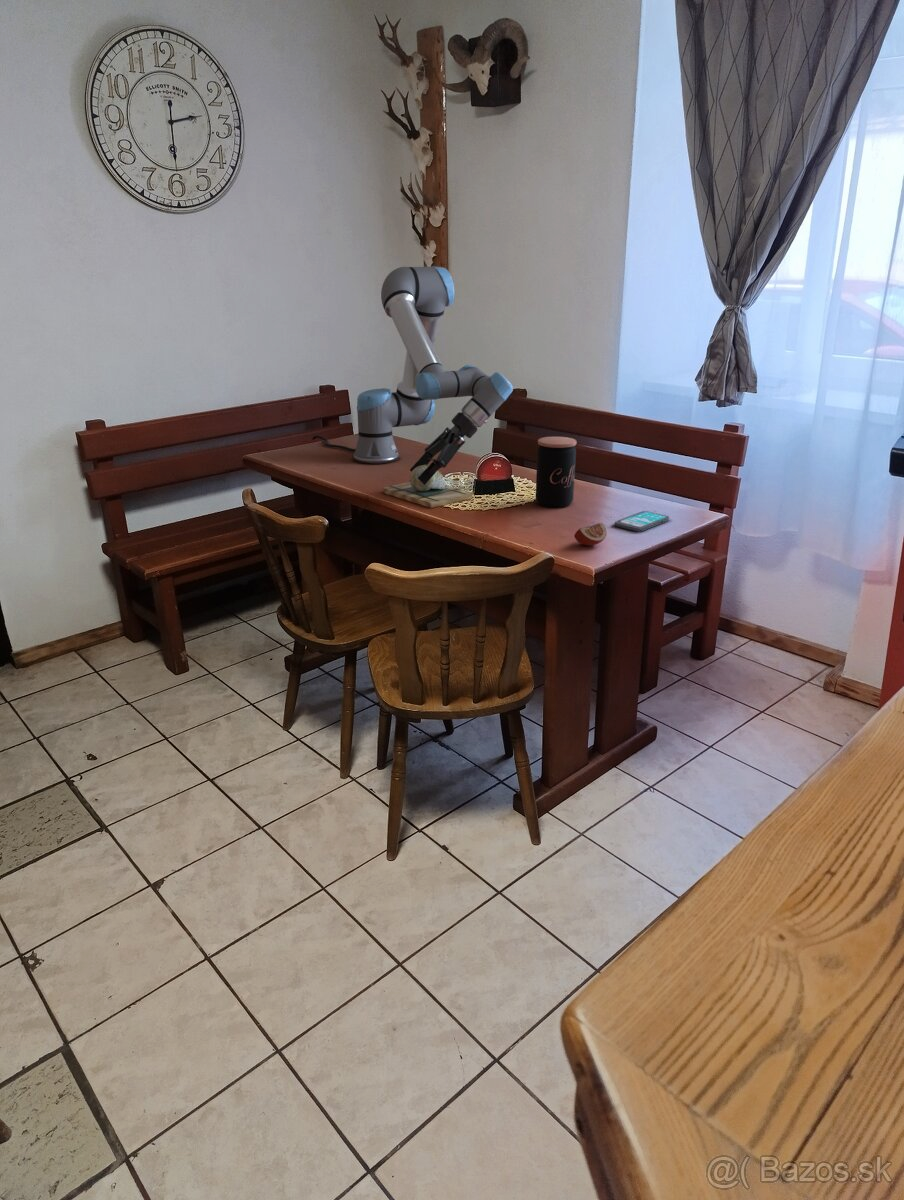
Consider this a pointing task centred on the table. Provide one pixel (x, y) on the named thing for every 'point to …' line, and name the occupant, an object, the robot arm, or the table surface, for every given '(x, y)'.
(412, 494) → the board
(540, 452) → the coffee jar
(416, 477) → the seashell
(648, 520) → the smartphone
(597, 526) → the fruit slice
